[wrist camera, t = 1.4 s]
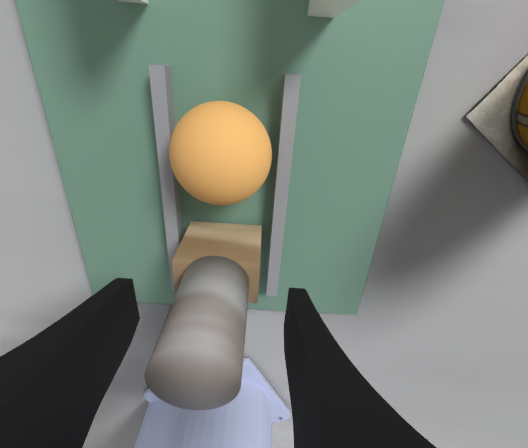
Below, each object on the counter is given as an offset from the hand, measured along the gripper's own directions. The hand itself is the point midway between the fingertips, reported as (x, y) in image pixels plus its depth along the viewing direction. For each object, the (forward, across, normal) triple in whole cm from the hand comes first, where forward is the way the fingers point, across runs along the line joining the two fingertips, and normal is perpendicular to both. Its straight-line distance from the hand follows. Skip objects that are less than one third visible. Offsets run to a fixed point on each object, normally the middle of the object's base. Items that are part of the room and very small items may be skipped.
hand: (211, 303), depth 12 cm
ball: (+3, 0, -5) cm, 6 cm away
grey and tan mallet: (+5, 0, 0) cm, 5 cm away
